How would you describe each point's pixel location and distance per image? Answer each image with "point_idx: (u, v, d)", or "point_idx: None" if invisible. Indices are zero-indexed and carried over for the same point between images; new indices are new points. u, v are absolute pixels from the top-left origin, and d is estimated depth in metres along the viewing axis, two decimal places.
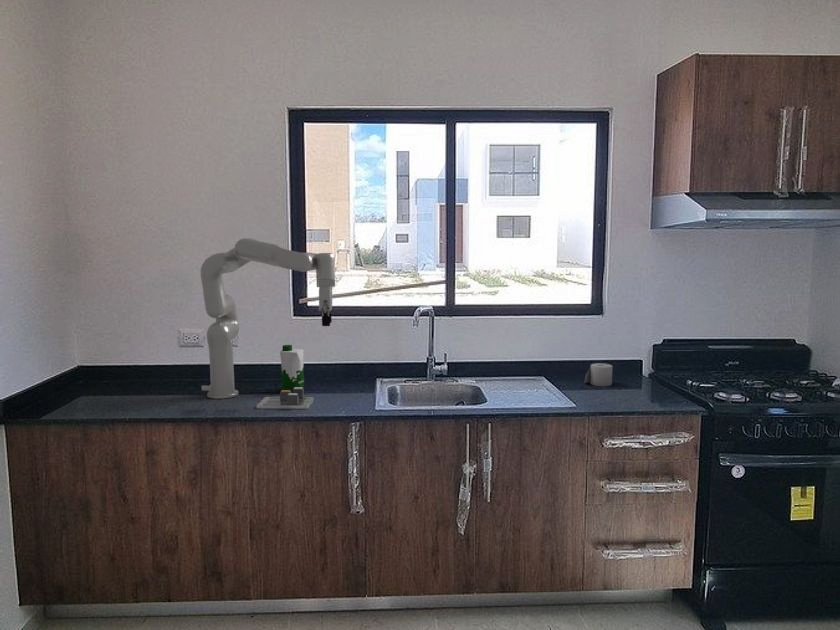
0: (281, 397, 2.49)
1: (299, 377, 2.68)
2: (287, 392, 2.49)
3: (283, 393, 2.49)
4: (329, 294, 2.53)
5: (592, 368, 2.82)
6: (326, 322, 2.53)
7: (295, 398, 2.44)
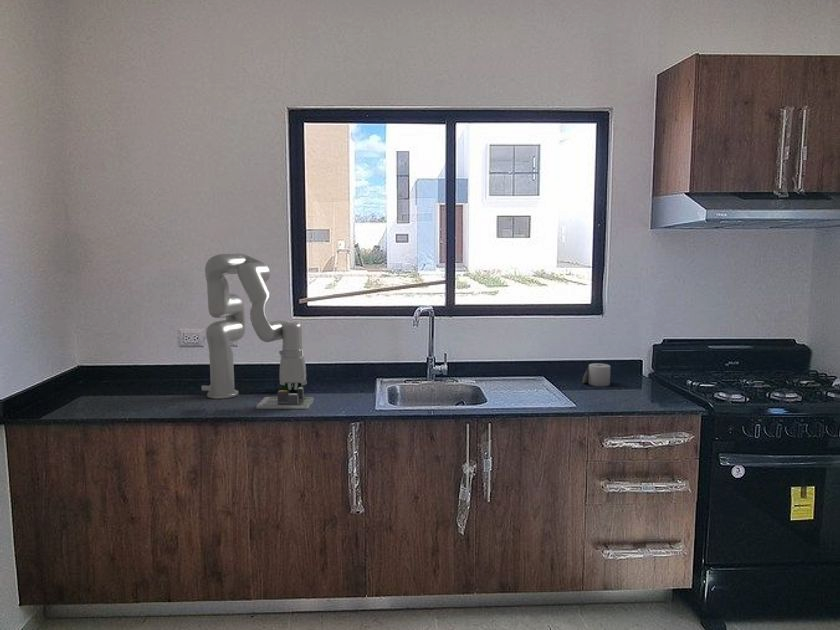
0: (278, 397, 2.49)
1: None
2: (284, 392, 2.49)
3: (280, 393, 2.49)
4: None
5: (590, 368, 2.82)
6: None
7: (295, 398, 2.44)
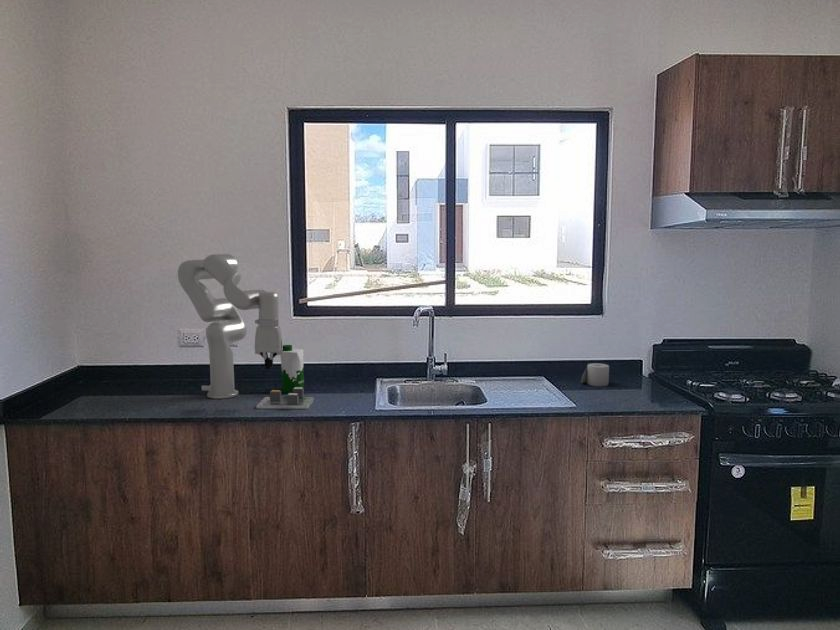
0: (271, 397, 2.49)
1: (299, 377, 2.68)
2: (277, 392, 2.49)
3: (273, 393, 2.49)
4: None
5: (589, 368, 2.82)
6: (272, 364, 2.49)
7: (295, 398, 2.44)
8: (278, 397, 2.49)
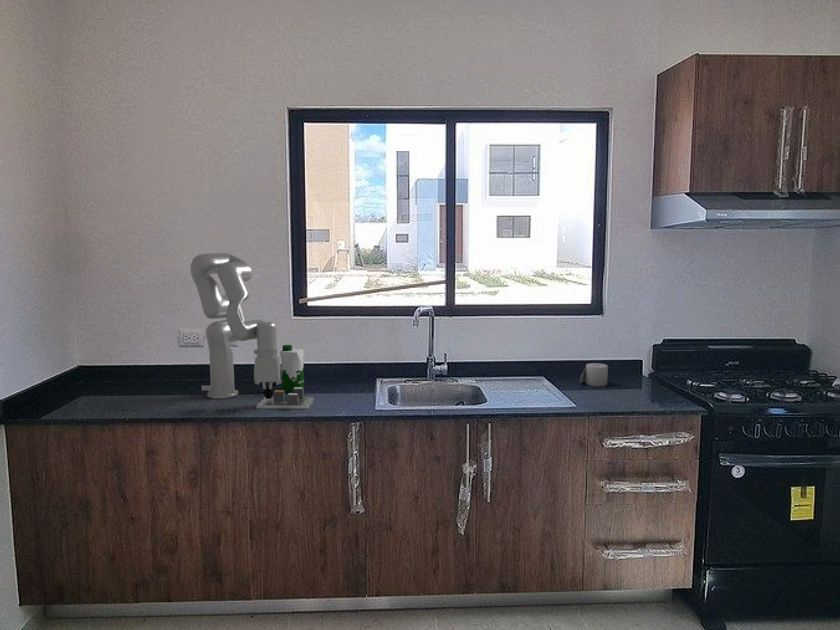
0: (274, 397, 2.49)
1: (299, 377, 2.68)
2: (280, 392, 2.49)
3: (276, 393, 2.49)
4: None
5: (587, 368, 2.82)
6: (272, 394, 2.50)
7: (295, 398, 2.44)
8: (282, 397, 2.49)
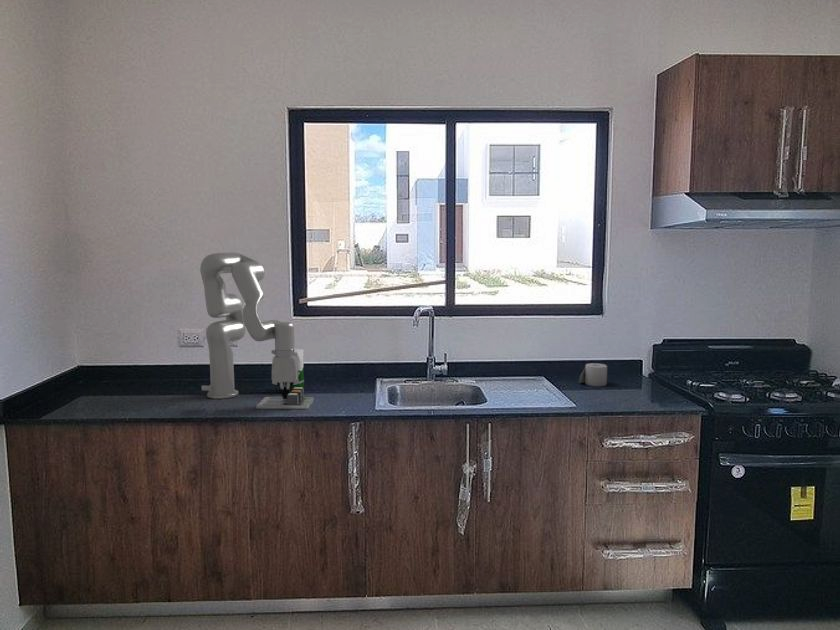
0: None
1: (299, 377, 2.68)
2: (298, 392, 2.49)
3: None
4: None
5: (587, 368, 2.82)
6: None
7: (295, 398, 2.44)
8: (299, 397, 2.49)
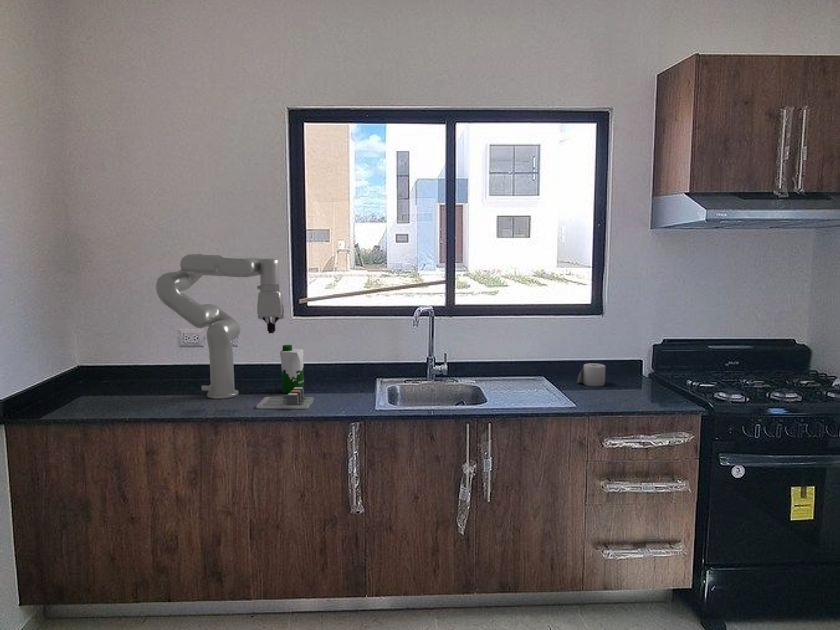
0: None
1: (299, 377, 2.68)
2: (297, 392, 2.49)
3: None
4: None
5: (585, 368, 2.82)
6: None
7: (295, 398, 2.44)
8: None
